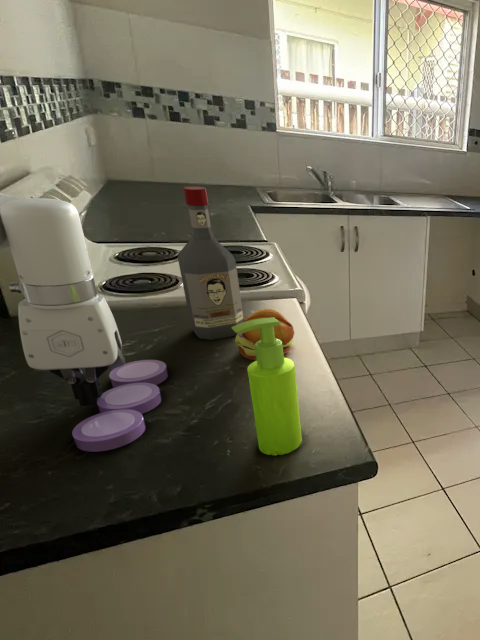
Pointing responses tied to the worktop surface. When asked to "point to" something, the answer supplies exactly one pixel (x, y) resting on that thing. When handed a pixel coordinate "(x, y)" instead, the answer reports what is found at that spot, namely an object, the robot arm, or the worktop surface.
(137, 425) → the dish
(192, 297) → the liquor
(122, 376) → the dish
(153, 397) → the middle dish
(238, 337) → the cheeseburger
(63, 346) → the robot arm
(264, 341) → the soap dispenser
